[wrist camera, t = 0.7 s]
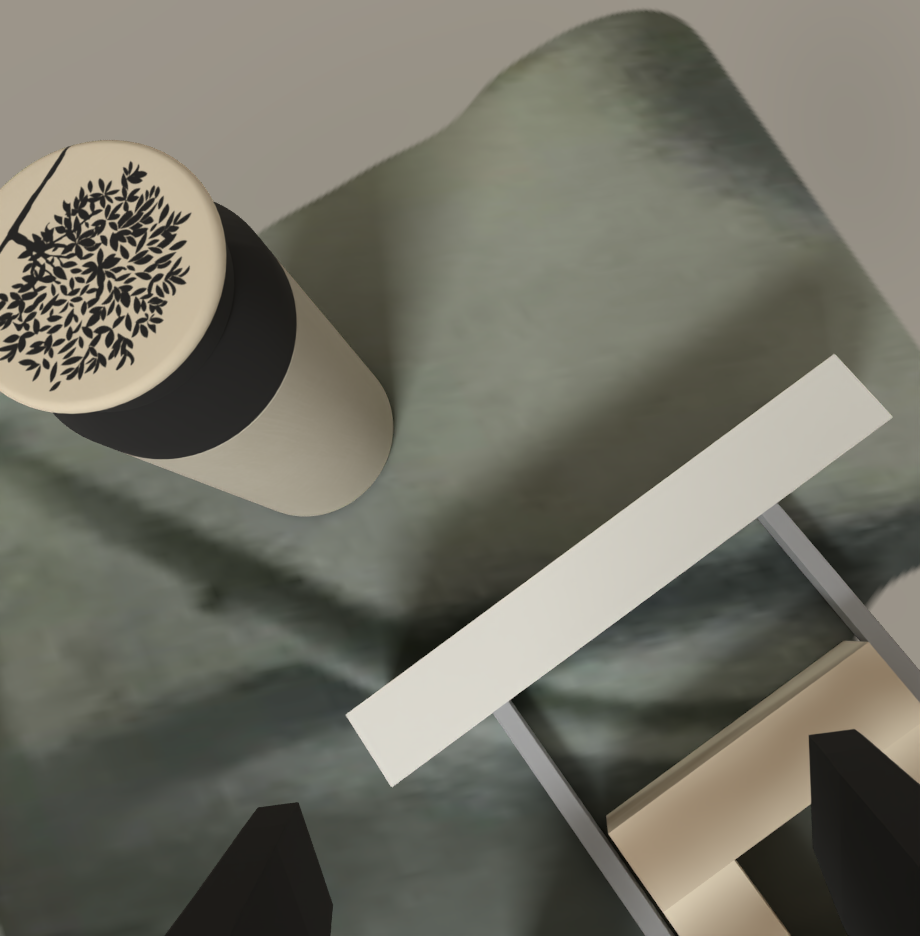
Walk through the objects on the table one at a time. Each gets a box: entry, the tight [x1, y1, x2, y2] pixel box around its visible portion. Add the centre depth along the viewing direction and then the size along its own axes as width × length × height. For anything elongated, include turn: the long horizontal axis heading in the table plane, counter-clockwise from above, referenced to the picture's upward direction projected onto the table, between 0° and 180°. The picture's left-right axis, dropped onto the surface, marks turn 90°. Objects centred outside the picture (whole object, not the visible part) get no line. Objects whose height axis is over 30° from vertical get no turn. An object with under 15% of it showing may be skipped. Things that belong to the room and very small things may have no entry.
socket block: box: [606, 641, 920, 936], centre depth 30 cm, size 12×12×3 cm
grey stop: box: [346, 354, 920, 936], centre depth 29 cm, size 23×22×6 cm
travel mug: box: [0, 140, 393, 516], centre depth 29 cm, size 8×8×18 cm
